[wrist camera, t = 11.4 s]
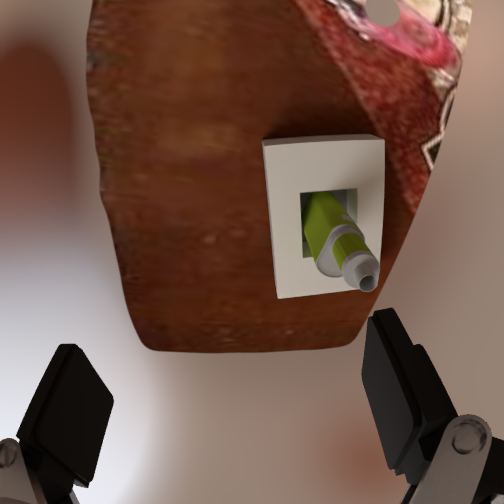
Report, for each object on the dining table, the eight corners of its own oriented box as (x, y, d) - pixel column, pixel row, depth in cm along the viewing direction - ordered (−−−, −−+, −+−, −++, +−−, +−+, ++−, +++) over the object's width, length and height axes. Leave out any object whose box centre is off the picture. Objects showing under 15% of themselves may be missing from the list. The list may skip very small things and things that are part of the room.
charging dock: (261, 139, 39) (264, 146, 34) (368, 133, 38) (384, 139, 34) (274, 277, 48) (277, 298, 43) (365, 267, 48) (377, 286, 43)
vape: (339, 194, 41) (399, 269, 23) (320, 233, 44) (361, 327, 26) (314, 183, 41) (361, 253, 23) (296, 223, 43) (324, 316, 25)
